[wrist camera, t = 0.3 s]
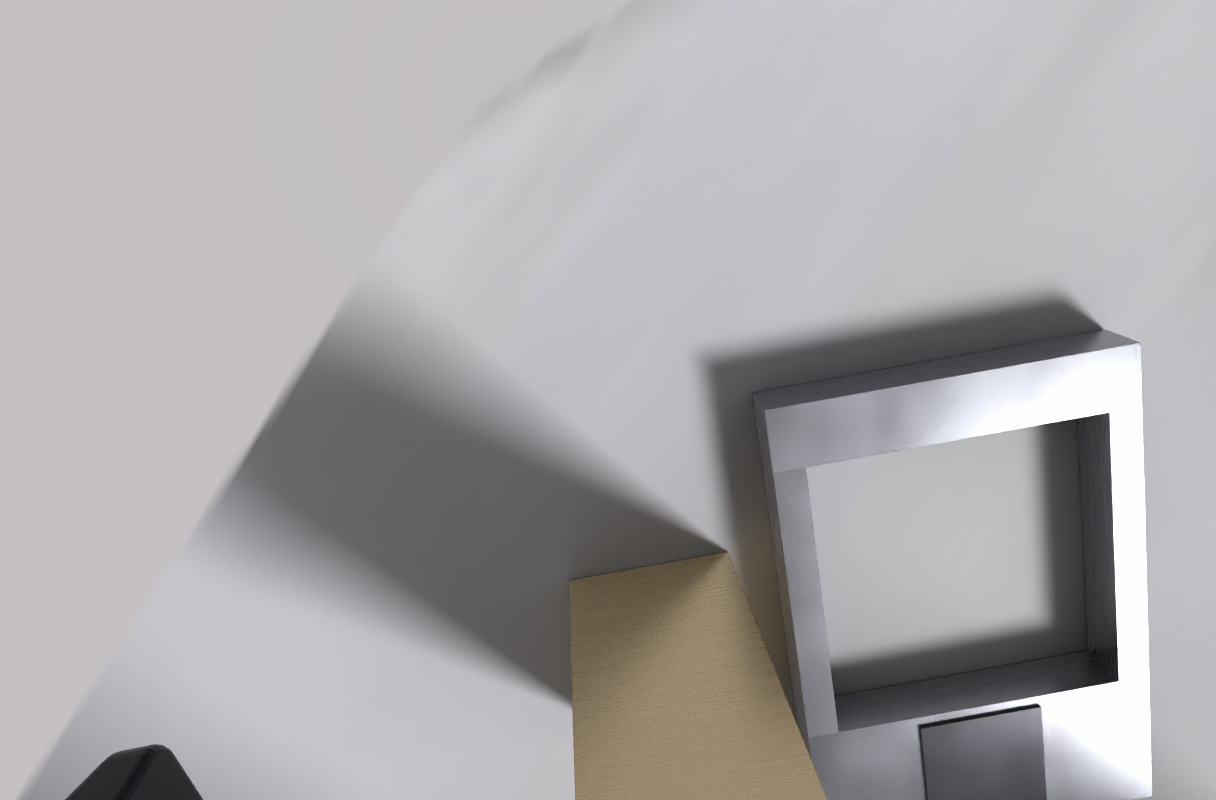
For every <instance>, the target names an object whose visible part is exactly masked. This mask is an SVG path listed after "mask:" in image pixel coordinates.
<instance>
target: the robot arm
mask: <svg viewBox="0 0 1216 800" xmlns="http://www.w3.org/2000/svg"><path fill="white" fill-rule="evenodd" d="M65 800H203V799H202V797H201V796H200V794H199V792H198V791H197V789H196V788H195V786H194V785H193V783H192V782H191V780H190V779H189V777H188V776H187V774H186V772H185V771H184V769H183V768H182V766H181V765H180V763H179V762H178V760H177V759H176V757H175V756H174V754H173V753H172V752H171V750H170V749H168V748H166V747H165V746H163V745H156V744H154V745H149V746H144V747H139V748H134V749H129V750H124V751H120V752H117V753H114V754H112V755H111V756H109V757H108V758H107V759H106V760H105V761H104V762H102V763H101V764H100V765H99V766H98V767H97V768H96V769H95V770H94V771H93V772H92V773H91V774H90V775H89V776H88V777H87V778H86V779H85V780H84V781H83V782H82V783H81V784H80V785H79V786H78V787H77V788H76V789H75V790H74V791H73V792H72V793H71V794H70V795H69V796H68V797H67V798H66V799H65Z"/></svg>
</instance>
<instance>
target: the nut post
mask: <svg viewBox="0 0 1216 800" xmlns="http://www.w3.org/2000/svg"><path fill="white" fill-rule="evenodd" d="M569 609H570V642H571V675H572V708H573V741H574V774H575V800H827V799H826V796H825V794H824V791H823V789H822V786H821V784H820V781H819V779H818V776H817V774H816V771H815V769H814V766H813V764H812V761H811V759H810V756H809V754H808V751H807V749H806V746H805V744H804V741H803V739H802V736H801V734H800V731H799V729H798V726H797V724H796V721H795V719H794V716H793V714H792V711H791V709H790V706H789V704H788V701H787V699H786V696H785V694H784V691H783V689H782V686H781V684H780V681H779V679H778V676H777V674H776V671H775V669H774V666H773V664H772V661H771V659H770V656H769V654H768V651H767V649H766V646H765V644H764V641H763V639H762V636H761V634H760V631H759V629H758V626H757V624H756V621H755V619H754V616H753V614H752V611H751V609H750V606H749V604H748V601H747V599H746V596H745V594H744V591H743V589H742V586H741V584H740V581H739V579H738V576H737V574H736V571H735V569H734V566H733V564H732V561H731V559H730V556H729V554H728V552H724V553H718V554H713V555H707V556H702V557H696V558H690V559H685V560H679V561H674V562H668V563H663V564H657V565H652V566H646V567H640V568H635V569H629V570H624V571H618V572H613V573H607V574H602V575H596V576H590V577H585V578H579V579H574V580H569Z"/></svg>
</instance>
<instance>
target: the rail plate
mask: <svg viewBox="0 0 1216 800" xmlns="http://www.w3.org/2000/svg"><path fill="white" fill-rule="evenodd" d="M752 397H753V404H754V412H755V419H756V426H757V434H758V441H759V448H760V455H761V463H762V470H763V477H764V485H765V492H766V499H767V506H768V514H769V521H770V528H771V536H772V543H773V550H774V557H775V565H776V572H777V579H778V587H779V594H780V601H781V609H782V616H783V623H784V630H785V638H786V645H787V652H788V660H789V667H790V674H791V681H792V689H793V696H794V703H795V711H796V718H797V725H798V729H799V731H800V734H801V736H802V739H803V741H804V744H805V746H806V749H807V751H808V754H809V756H810V759H811V761H812V764H813V766H814V769H815V771H816V774H817V776H818V779H819V781H820V784H821V786H822V789H823V791H824V794H825V796H826V799H827V800H1132V799H1137V798H1143V797H1148V796H1152V771H1151V732H1150V693H1149V654H1148V616H1147V577H1146V538H1145V499H1144V460H1143V422H1142V383H1141V344H1140V343H1139V342H1137V341H1134V340H1131V339H1129V338H1126V337H1124V336H1121V335H1118V334H1116V333H1113V332H1111V331H1108V330H1105V329H1104V330H1099V331H1093V332H1088V333H1082V334H1077V335H1071V336H1066V337H1060V338H1054V339H1049V340H1043V341H1038V342H1032V343H1027V344H1021V345H1015V346H1010V347H1004V348H999V349H993V350H988V351H982V352H976V353H971V354H965V355H960V356H954V357H949V358H943V359H937V360H932V361H926V362H921V363H915V364H910V365H904V366H899V367H893V368H887V369H882V370H876V371H871V372H865V373H860V374H854V375H848V376H843V377H837V378H832V379H826V380H821V381H815V382H809V383H804V384H798V385H793V386H787V387H782V388H776V389H771V390H765V391H759V392H754V393H752ZM1076 418H1078V438H1079V460H1080V483H1081V505H1082V528H1083V550H1084V573H1085V595H1086V618H1087V640H1088V651H1083V652H1077V653H1072V654H1066V655H1060V656H1055V657H1049V658H1044V659H1038V660H1033V661H1027V662H1022V663H1016V664H1011V665H1005V666H1000V667H994V668H989V669H983V670H977V671H972V672H966V673H961V674H955V675H950V676H944V677H939V678H933V679H928V680H922V681H917V682H911V683H906V684H900V685H894V686H889V687H883V688H878V689H872V690H867V691H861V692H856V693H850V694H845V695H839V696H834V691H833V683H832V675H831V667H830V659H829V651H828V643H827V635H826V627H825V619H824V611H823V603H822V595H821V587H820V579H819V570H818V562H817V554H816V546H815V538H814V530H813V522H812V514H811V506H810V498H809V490H808V482H807V474H806V467H810V466H815V465H821V464H826V463H832V462H837V461H843V460H849V459H854V458H860V457H865V456H871V455H876V454H882V453H888V452H893V451H899V450H904V449H910V448H915V447H921V446H926V445H932V444H938V443H943V442H949V441H954V440H960V439H965V438H971V437H976V436H982V435H988V434H993V433H999V432H1004V431H1010V430H1015V429H1021V428H1026V427H1032V426H1038V425H1043V424H1049V423H1054V422H1060V421H1065V420H1071V419H1076Z"/></svg>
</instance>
